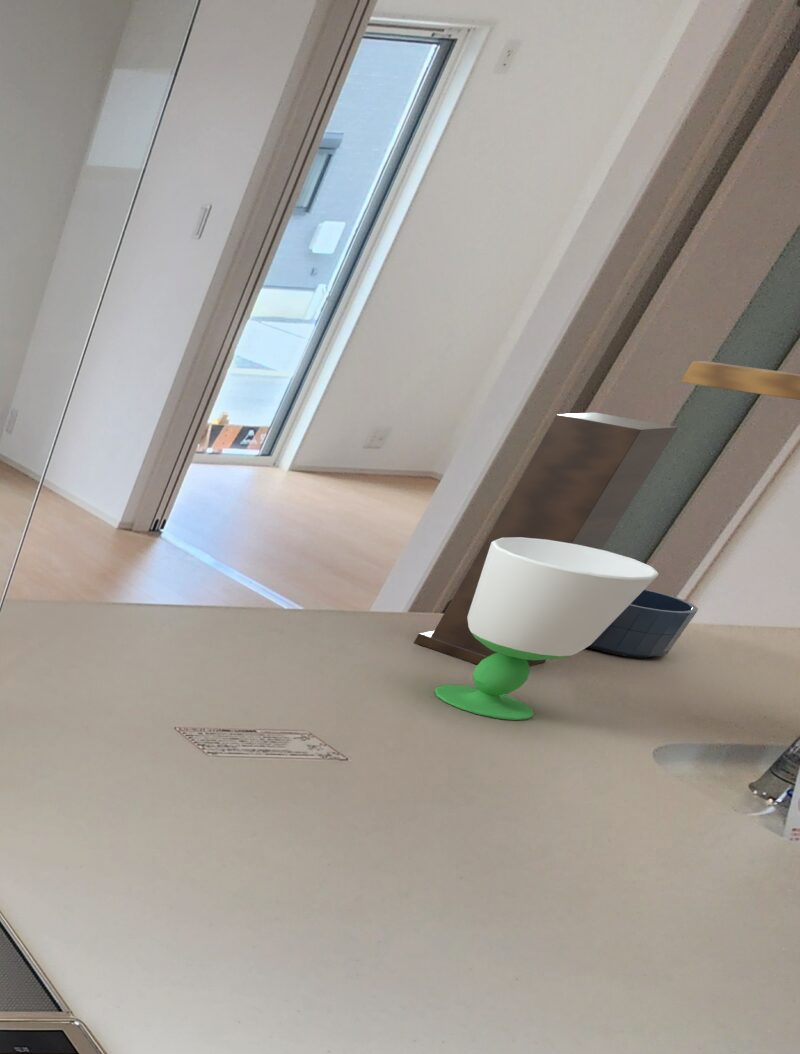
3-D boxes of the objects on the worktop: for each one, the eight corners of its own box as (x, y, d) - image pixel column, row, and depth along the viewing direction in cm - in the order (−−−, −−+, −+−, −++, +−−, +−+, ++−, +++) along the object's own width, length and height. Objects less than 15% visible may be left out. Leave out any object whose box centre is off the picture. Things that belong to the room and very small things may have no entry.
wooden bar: (912, 414, 106) (928, 391, 105) (901, 415, 106) (918, 392, 104) (691, 381, 119) (703, 360, 118) (680, 382, 118) (692, 361, 117)
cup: (581, 739, 113) (687, 586, 104) (432, 715, 116) (521, 564, 107) (529, 691, 124) (621, 548, 114) (393, 670, 127) (472, 529, 117)
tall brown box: (545, 662, 132) (694, 428, 117) (499, 672, 128) (647, 432, 113) (459, 634, 139) (589, 410, 124) (413, 642, 136) (541, 412, 120)
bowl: (682, 654, 138) (715, 607, 134) (637, 665, 133) (670, 616, 130) (582, 624, 146) (611, 579, 142) (536, 633, 141) (565, 587, 138)
